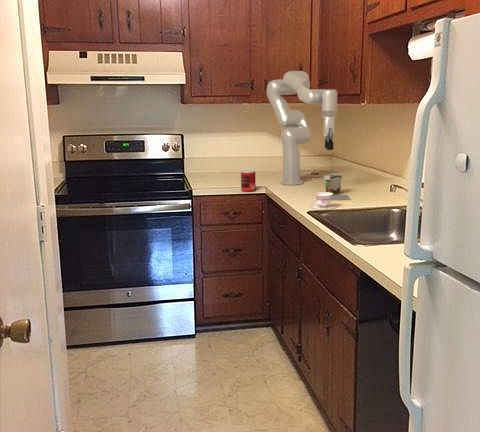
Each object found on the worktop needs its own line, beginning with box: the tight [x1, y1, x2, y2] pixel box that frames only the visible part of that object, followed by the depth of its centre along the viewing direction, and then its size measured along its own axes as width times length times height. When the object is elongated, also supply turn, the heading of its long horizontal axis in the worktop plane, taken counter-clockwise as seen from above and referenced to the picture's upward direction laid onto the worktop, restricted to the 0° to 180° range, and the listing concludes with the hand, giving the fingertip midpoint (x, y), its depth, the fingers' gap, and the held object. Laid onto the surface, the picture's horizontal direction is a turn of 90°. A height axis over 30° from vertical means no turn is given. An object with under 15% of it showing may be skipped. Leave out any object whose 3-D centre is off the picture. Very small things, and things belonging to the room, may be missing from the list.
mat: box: [314, 194, 352, 201], centre depth 265 cm, size 12×16×1 cm
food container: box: [323, 173, 343, 195], centre depth 273 cm, size 12×6×10 cm, turn 140°
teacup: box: [309, 191, 338, 210], centre depth 245 cm, size 12×12×6 cm
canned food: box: [240, 169, 256, 193], centre depth 287 cm, size 8×8×11 cm
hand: (328, 148), depth 278 cm, fingers open, 8 cm apart
